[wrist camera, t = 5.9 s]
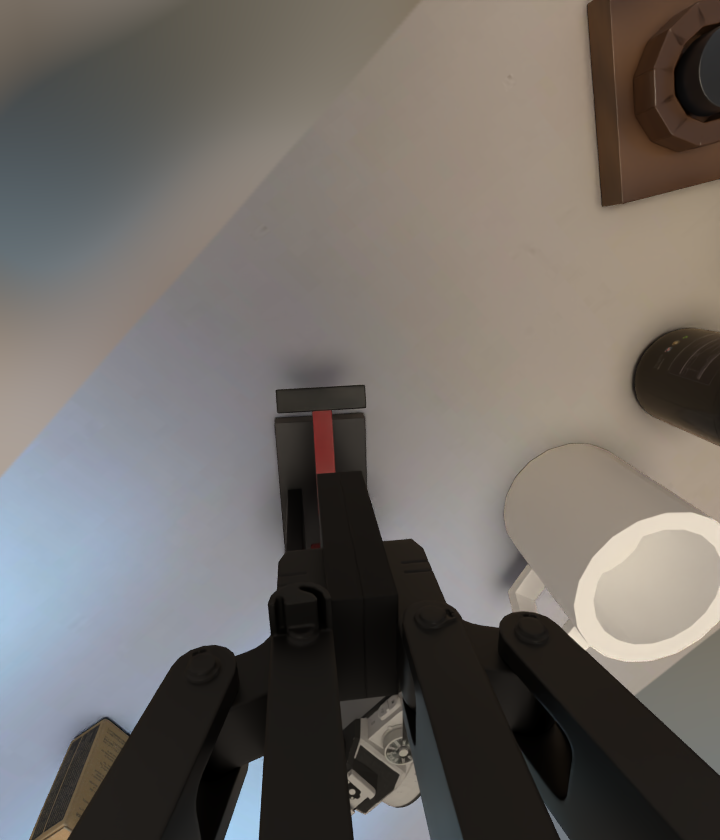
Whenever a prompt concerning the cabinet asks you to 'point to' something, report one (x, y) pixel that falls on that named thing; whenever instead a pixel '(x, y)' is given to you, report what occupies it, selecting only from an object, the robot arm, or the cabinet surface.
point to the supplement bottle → (683, 381)
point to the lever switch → (312, 470)
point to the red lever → (321, 417)
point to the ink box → (78, 780)
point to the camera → (377, 754)
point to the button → (700, 75)
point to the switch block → (649, 98)
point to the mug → (613, 554)
